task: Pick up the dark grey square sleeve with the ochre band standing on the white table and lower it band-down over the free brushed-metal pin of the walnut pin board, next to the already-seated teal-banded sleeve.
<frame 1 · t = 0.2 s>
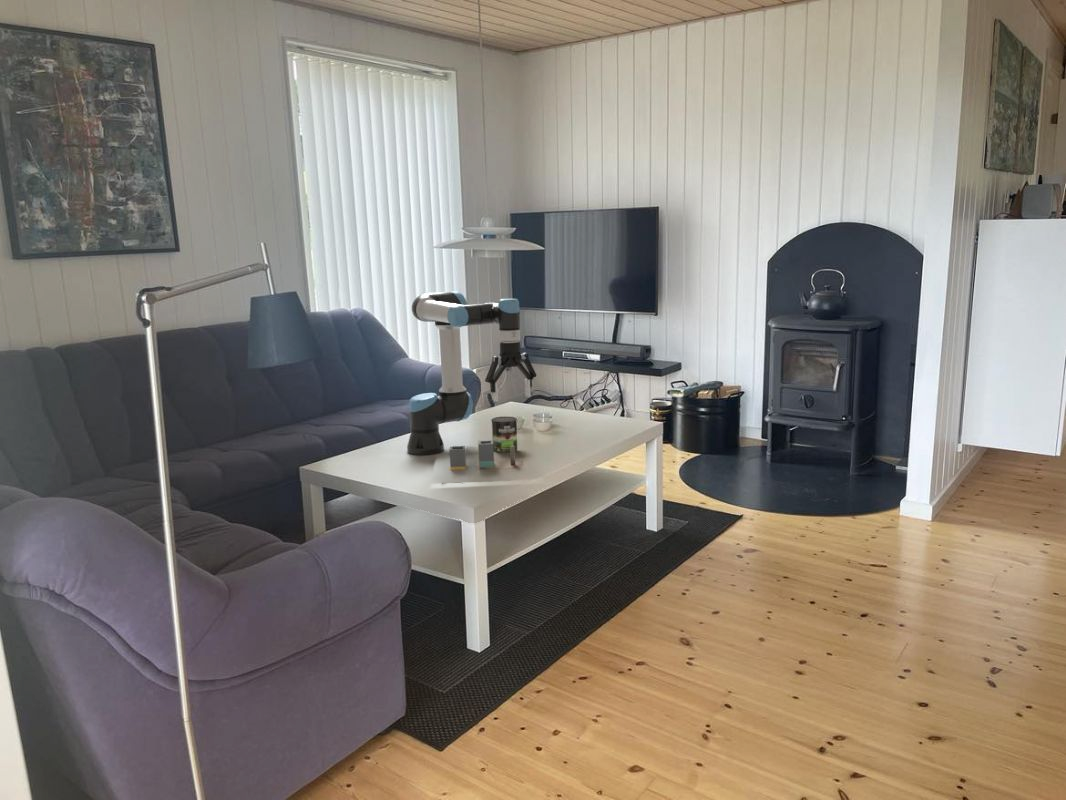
hand: (511, 398, 300), 27 cm above the table, fingers open, 13 cm apart
sleeve teal: (486, 465, 308), point 1 cm above the table, touching pin board
sleeve ochre: (458, 471, 307), on the table
coffee can: (505, 453, 332), on the table
pin board: (499, 468, 309), on the table
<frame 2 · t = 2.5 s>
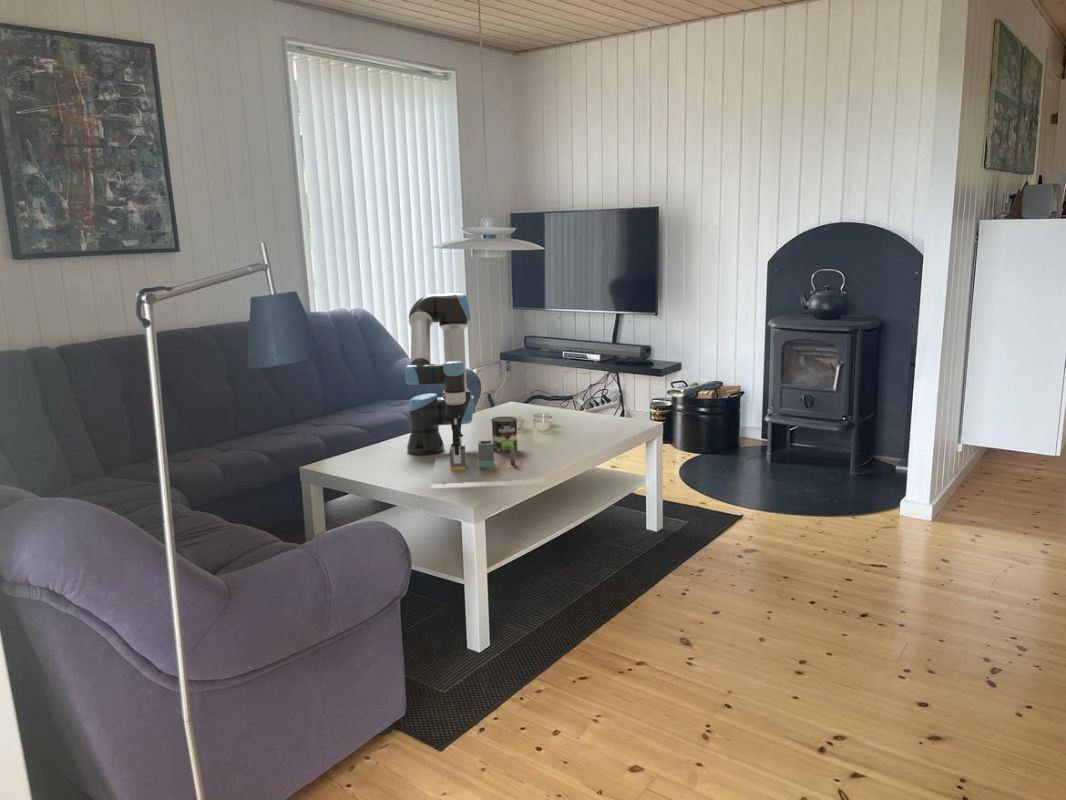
hand: (457, 458, 306), 5 cm above the table, fingers open, 13 cm apart
nothing on the table moved.
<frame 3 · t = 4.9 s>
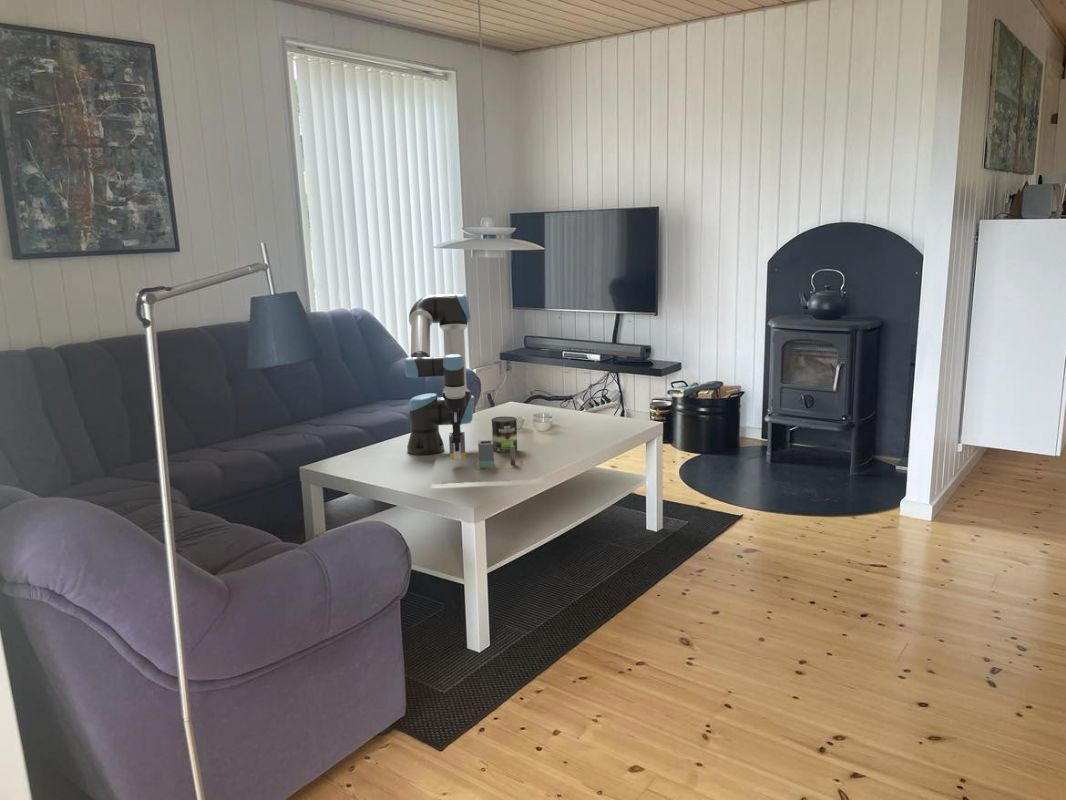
hand: (457, 456, 307), 6 cm above the table, fingers closed on sleeve ochre, 6 cm apart
sleeve ochre: (457, 457, 307), point 5 cm above the table, touching gripper
everything else where it was.
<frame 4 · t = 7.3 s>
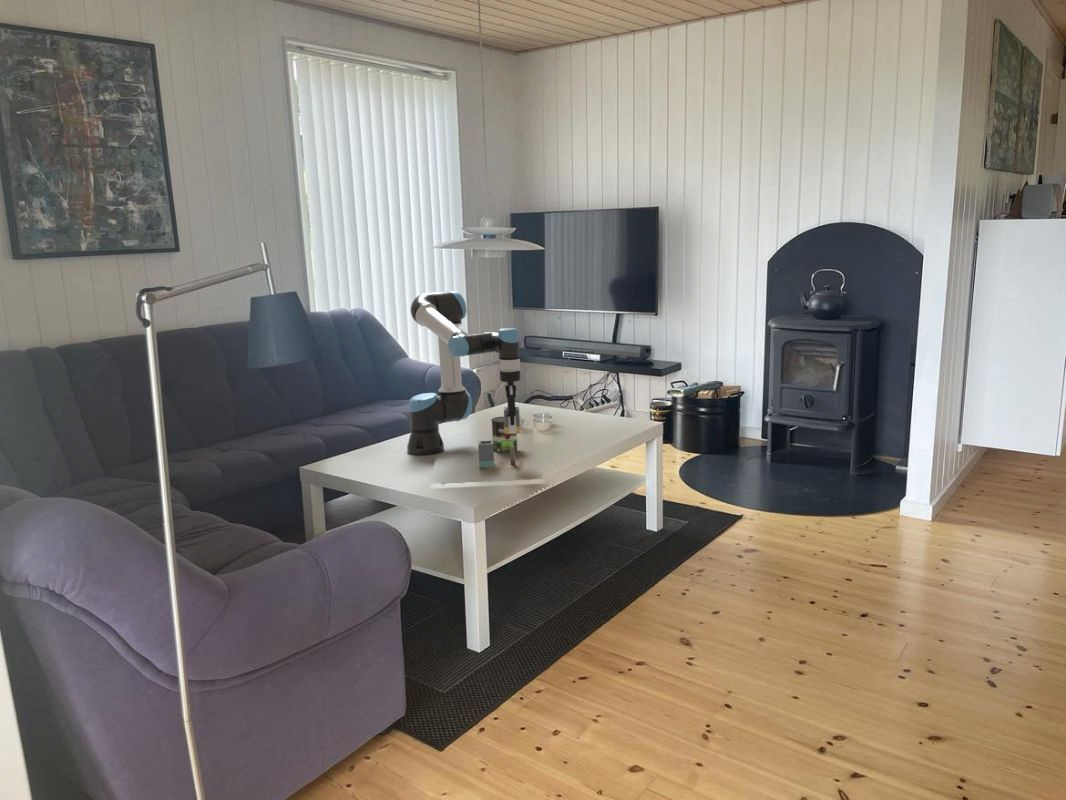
hand: (512, 431, 306), 14 cm above the table, fingers closed on sleeve ochre, 6 cm apart
sleeve ochre: (512, 431, 306), point 14 cm above the table, touching gripper
everything else where it was.
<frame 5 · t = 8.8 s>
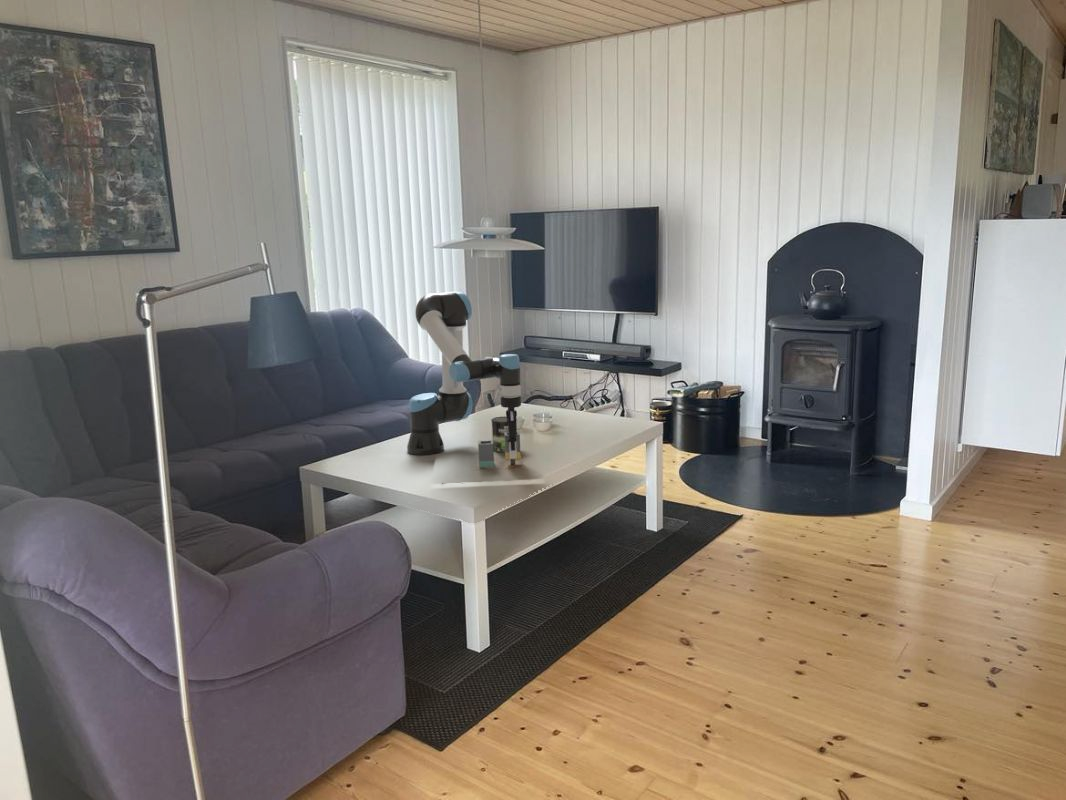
hand: (512, 456, 308), 5 cm above the table, fingers closed on sleeve ochre, 6 cm apart
sleeve ochre: (512, 456, 308), point 5 cm above the table, touching gripper
everything else where it was.
when the fingers open (2 cm above the table, at t = 10.0 s): sleeve ochre stays where it is, resting on pin board.
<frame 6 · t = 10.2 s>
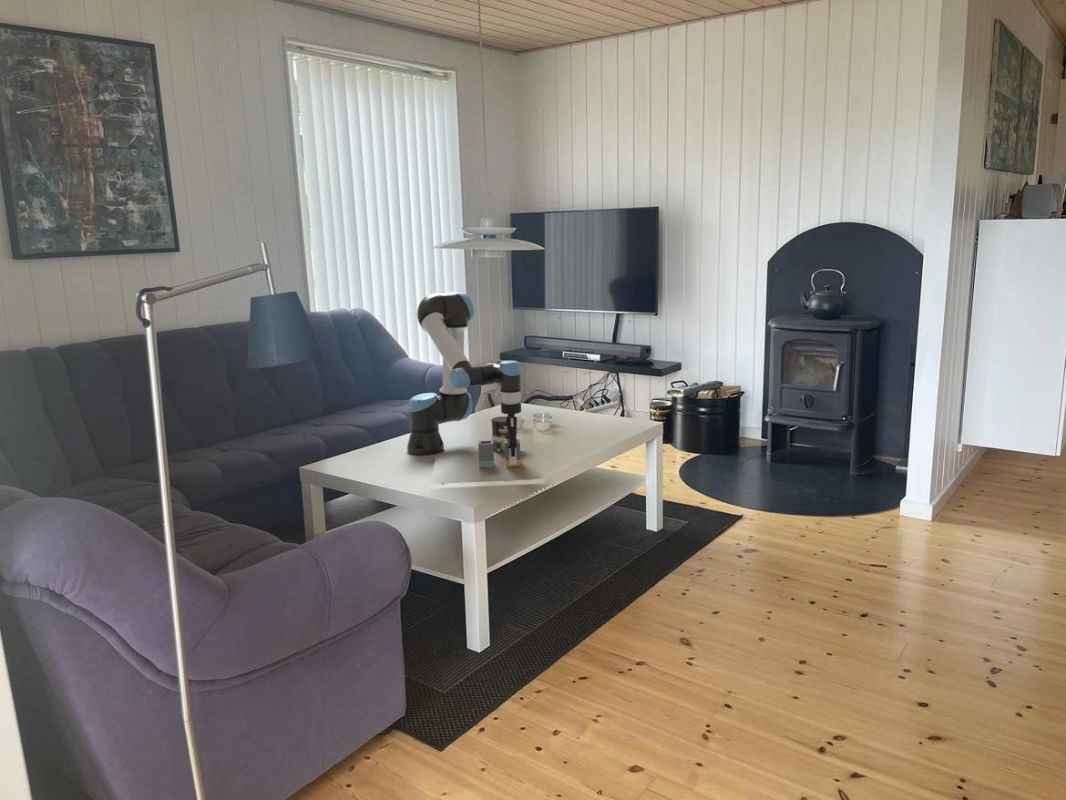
hand: (512, 461, 309), 3 cm above the table, fingers open, 7 cm apart
sleeve ochre: (512, 464, 309), point 1 cm above the table, touching pin board
everything else where it was.
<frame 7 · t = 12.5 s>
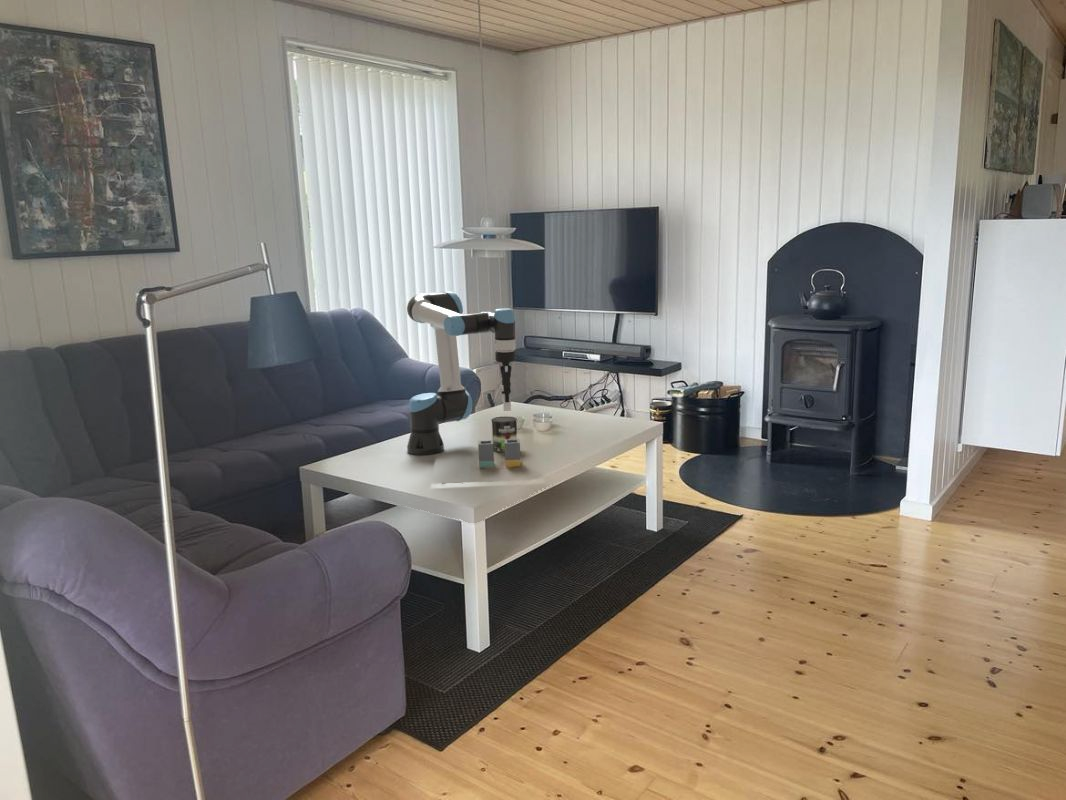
hand: (506, 406, 306), 24 cm above the table, fingers open, 13 cm apart
nothing on the table moved.
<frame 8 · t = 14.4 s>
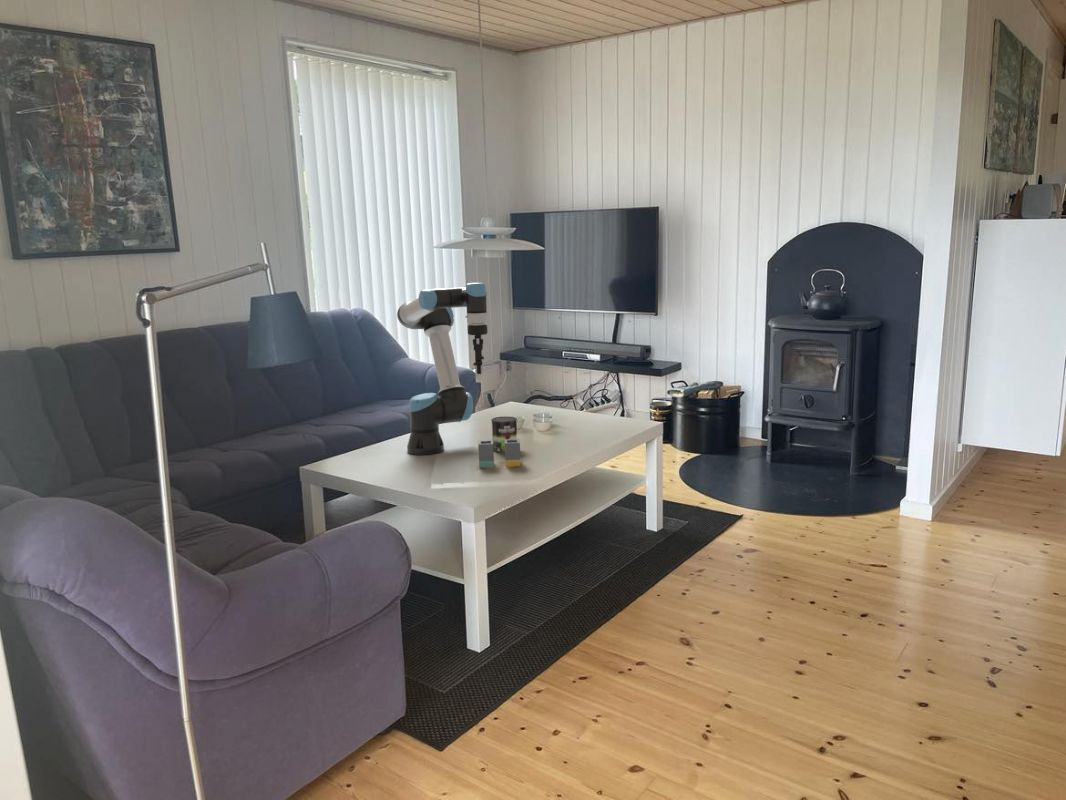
hand: (479, 379, 313), 33 cm above the table, fingers open, 13 cm apart
nothing on the table moved.
at the end: sleeve ochre 0.0 cm from the target spot, point 1.5 cm above the table; sleeve ochre tilted 0°; the gripper is holding nothing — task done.
